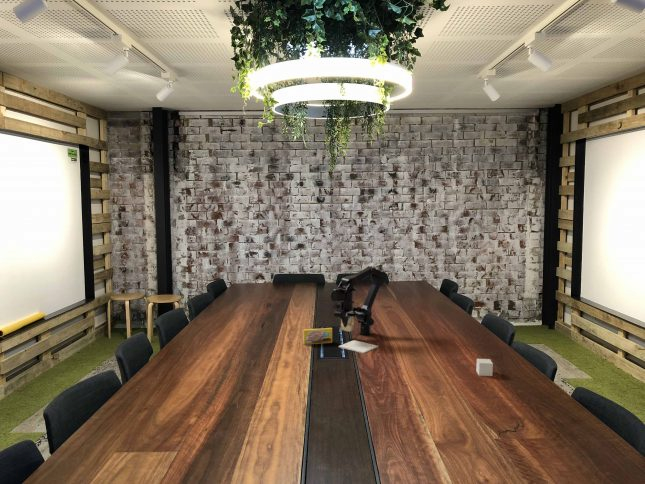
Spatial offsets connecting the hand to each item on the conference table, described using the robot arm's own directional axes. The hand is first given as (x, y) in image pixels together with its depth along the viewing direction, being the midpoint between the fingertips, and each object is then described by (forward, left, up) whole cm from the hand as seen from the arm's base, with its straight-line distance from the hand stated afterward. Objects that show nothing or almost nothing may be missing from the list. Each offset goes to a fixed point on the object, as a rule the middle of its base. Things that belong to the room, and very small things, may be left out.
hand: (347, 326), depth 283 cm
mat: (+9, +14, -7) cm, 18 cm away
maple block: (0, 0, -2) cm, 2 cm away
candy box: (+18, -7, -7) cm, 21 cm away
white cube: (+3, +81, -7) cm, 81 cm away
